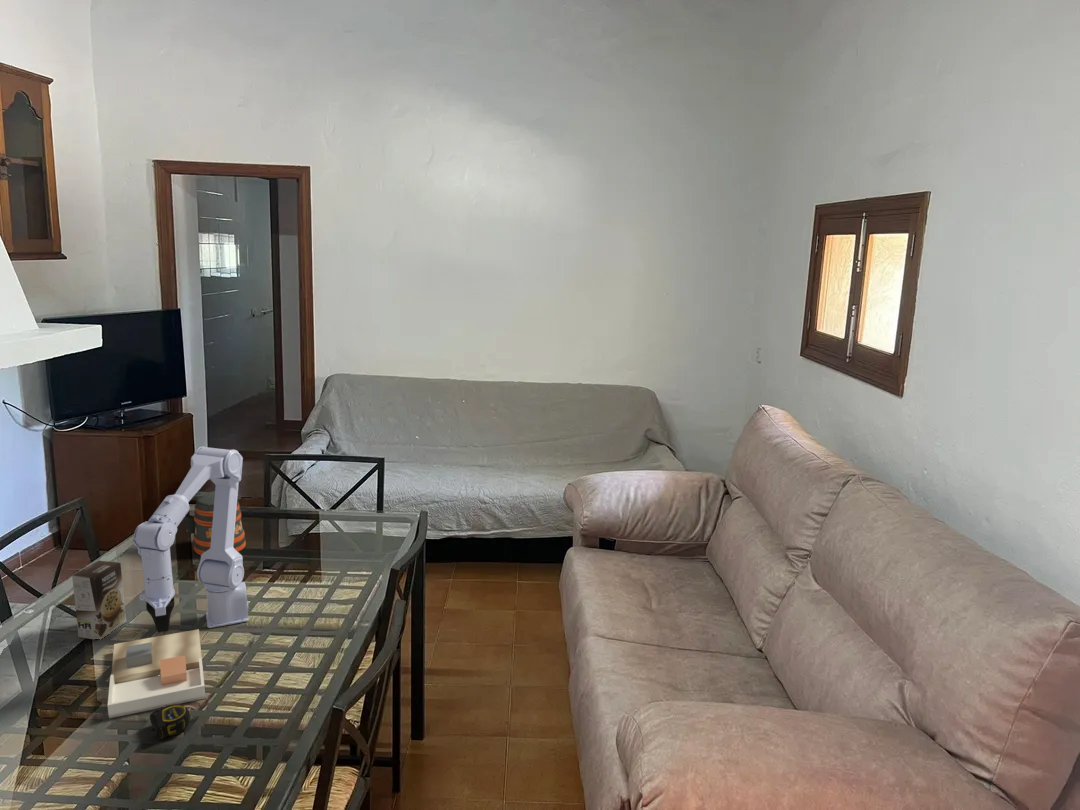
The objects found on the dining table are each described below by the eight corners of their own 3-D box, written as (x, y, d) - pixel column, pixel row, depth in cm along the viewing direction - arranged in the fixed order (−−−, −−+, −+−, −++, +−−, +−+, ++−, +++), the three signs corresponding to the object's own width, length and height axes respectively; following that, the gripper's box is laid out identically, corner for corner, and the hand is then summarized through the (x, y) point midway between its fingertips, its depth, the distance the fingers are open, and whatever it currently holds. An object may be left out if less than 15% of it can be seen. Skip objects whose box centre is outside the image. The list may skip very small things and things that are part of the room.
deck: (199, 636, 193) (198, 629, 193) (202, 669, 180) (201, 661, 180) (115, 651, 186) (114, 644, 185) (111, 686, 173) (110, 678, 172)
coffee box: (101, 641, 190) (94, 578, 186) (77, 637, 191) (70, 575, 187) (128, 622, 199) (121, 562, 195) (105, 619, 200) (98, 559, 196)
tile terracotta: (185, 663, 178) (185, 655, 177) (187, 680, 174) (186, 672, 173) (161, 668, 176) (160, 659, 175) (161, 685, 172) (160, 677, 171)
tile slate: (152, 652, 182) (151, 642, 182) (152, 663, 178) (151, 653, 177) (127, 656, 180) (126, 646, 180) (127, 668, 176) (126, 657, 175)
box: (202, 669, 180) (201, 657, 179) (205, 698, 169) (204, 685, 169) (111, 687, 172) (110, 674, 172) (108, 718, 162) (107, 705, 161)
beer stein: (171, 559, 234) (166, 494, 229) (186, 539, 248) (181, 477, 243) (239, 557, 236) (235, 493, 232) (250, 537, 250) (247, 476, 246)
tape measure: (150, 726, 160) (148, 709, 160) (186, 714, 164) (185, 698, 163) (156, 744, 155) (154, 727, 154) (193, 732, 159) (192, 716, 158)
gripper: (137, 564, 181) (143, 618, 184) (137, 592, 168) (143, 650, 172) (171, 559, 184) (176, 613, 187) (174, 586, 171) (179, 643, 175)
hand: (163, 630), depth 180 cm, fingers closed
